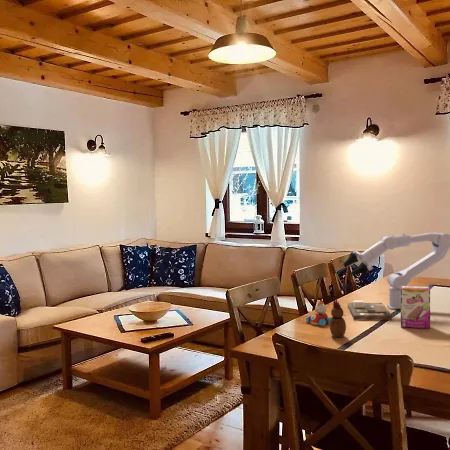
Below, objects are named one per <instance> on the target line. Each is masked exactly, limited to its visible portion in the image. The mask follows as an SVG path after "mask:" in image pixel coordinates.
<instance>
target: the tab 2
mask: <svg viewBox="0 0 450 450" xmlns="http://www.w3.org/2000/svg"><path fill="white" fill-rule="evenodd" d="M385 307H386V306H385V305H384V304H383V303H382V304H374V310H375V312H385Z"/></svg>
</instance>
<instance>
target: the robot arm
mask: <svg viewBox="0 0 450 450" xmlns="http://www.w3.org/2000/svg"><path fill="white" fill-rule="evenodd" d="M421 242H431V244H432V251H431V252H430V253H429V254H427V255H426V256H424V257H422V258H421V259H419V260H418V261H416V262H415V263H413V264H411V265H410V266H408V267H406V268H404V269H403V270H398V271H397V272H393V273H390V274H389V275H388V277H387V282H388V285H389V288H388V291H389V292H388V296H389V297H388V301H389V303H388V304H387V307H388V308H389V309H390V310H401V286H408V284H409V283H411V281H412V279H413V278H415V277H416V276H418V275H420V274H421V273H423V272H425V271H426V270H428V269H429V268H431V267H432V266H435V264H437V263H439V262H441V260H443V259H444V258H445V257H446V256H447V254H448V252H449V250H450V234H449V233H444V232H441V231H438V232H425V233H421V234H414V235H410V234H408V233H404V232H402V233H401V234H396V235H394V234H391V236H388V235H385V236H383V237H382V236H381V238H380V240H379V241H378V242H377V243H375V244H373V245H371V246H370V247H369V248H367V249H366V250H364V251H363V252H362V253H361V252H359V251H358V250H354V251H352V252H350V254H349V256H348V257H347V259H346V260H345V262H344V263H343V266H344V267H345V268H347V267H349V266H351V265H352V264H355V263H357V262H358V263H359V261H360V264H359V265H358V266H356V268H355V269H353V270H352V271H351V272H350V274H351V276H353V277H354V276H357V275H361V274H365V273H367V274H368V273H369V271H372V270H373V269H374V267H373V266H372V265H371V264H370V263H372V262H373V261H375V260H376V259H377V258H379V257H380V256H382V255H383V254H385V253H386V252H387V251H389V250H394V249H398V248H403V247H409V246H410V245H411V244H412V243H413V244H414V243H421Z"/></svg>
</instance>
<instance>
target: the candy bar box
mask: <svg viewBox="0 0 450 450" xmlns="http://www.w3.org/2000/svg"><path fill="white" fill-rule="evenodd" d="M400 327H401V328H404V329H405V328H409V329H422V330H423V329H424V330H430V329H431V288H430V286H419V285H417V286H416V285H414V286H412V285H406V286H401V309H400Z"/></svg>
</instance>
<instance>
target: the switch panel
mask: <svg viewBox="0 0 450 450" xmlns="http://www.w3.org/2000/svg"><path fill="white" fill-rule="evenodd" d="M374 304H383V302H364V308H355V307H354V302H347V308H348V311H349V312H350V315H351V317H352V319H353V321H392V320H393V316H392V314H391V312H390V311H389V310H388V309H387V307H386V306H385V312H375V310H374Z"/></svg>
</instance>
